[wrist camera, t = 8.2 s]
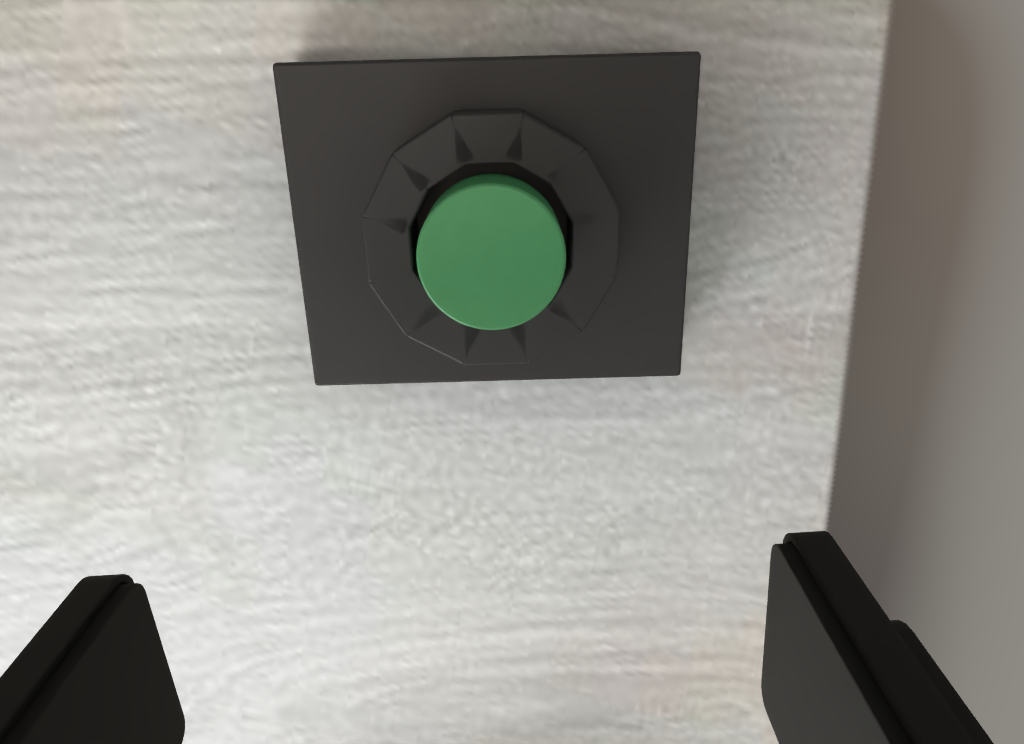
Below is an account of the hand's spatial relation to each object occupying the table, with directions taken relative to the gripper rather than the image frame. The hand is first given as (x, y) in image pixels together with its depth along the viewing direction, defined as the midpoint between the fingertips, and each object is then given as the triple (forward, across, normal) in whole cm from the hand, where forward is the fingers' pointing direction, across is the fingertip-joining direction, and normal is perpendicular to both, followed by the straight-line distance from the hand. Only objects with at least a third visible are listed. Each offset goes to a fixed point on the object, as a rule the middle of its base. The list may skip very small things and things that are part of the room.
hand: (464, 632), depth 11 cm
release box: (+14, 0, -4) cm, 15 cm away
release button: (+10, -1, -4) cm, 11 cm away
